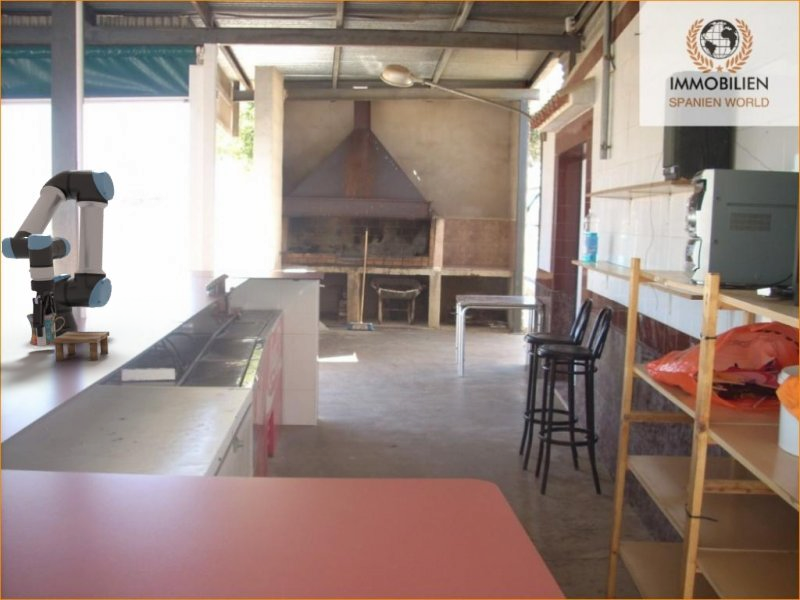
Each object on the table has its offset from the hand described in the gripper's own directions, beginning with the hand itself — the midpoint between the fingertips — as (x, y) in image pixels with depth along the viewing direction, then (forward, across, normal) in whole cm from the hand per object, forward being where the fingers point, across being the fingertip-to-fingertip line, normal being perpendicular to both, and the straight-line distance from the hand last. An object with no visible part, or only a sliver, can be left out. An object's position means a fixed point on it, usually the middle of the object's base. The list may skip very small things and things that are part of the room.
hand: (46, 342), depth 268 cm
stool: (+2, +12, +16) cm, 20 cm away
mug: (+1, 0, 0) cm, 1 cm away
